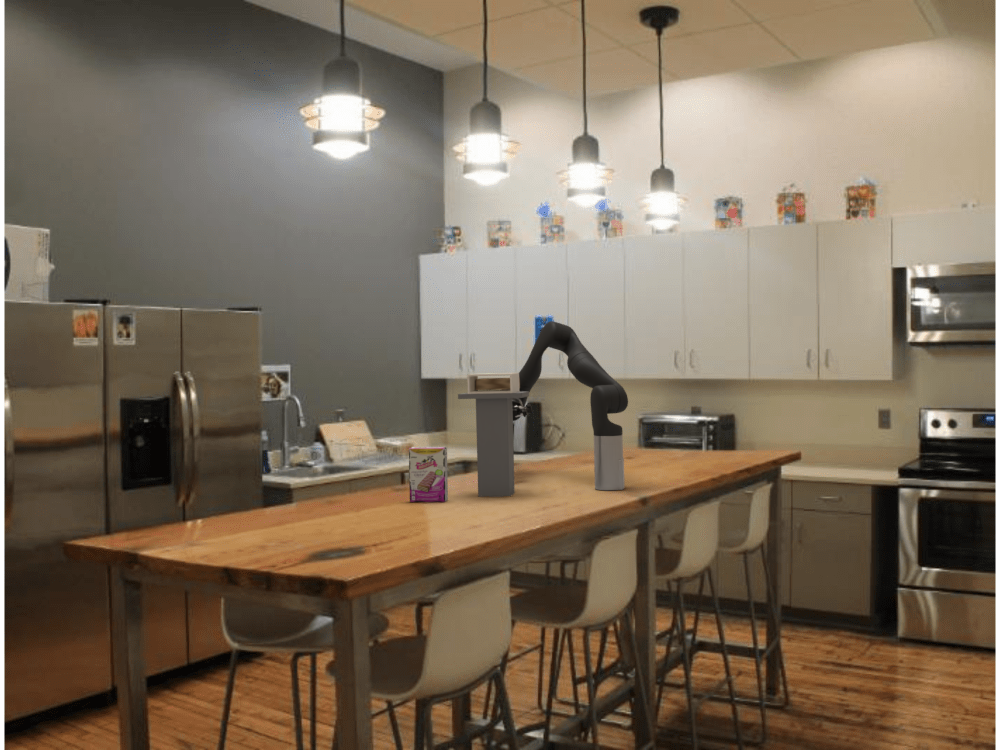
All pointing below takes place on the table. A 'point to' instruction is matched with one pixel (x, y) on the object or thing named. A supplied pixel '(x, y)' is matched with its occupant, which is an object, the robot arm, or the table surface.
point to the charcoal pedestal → (495, 442)
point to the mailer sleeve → (513, 388)
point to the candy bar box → (428, 474)
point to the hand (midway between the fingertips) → (511, 417)
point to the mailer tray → (493, 384)
